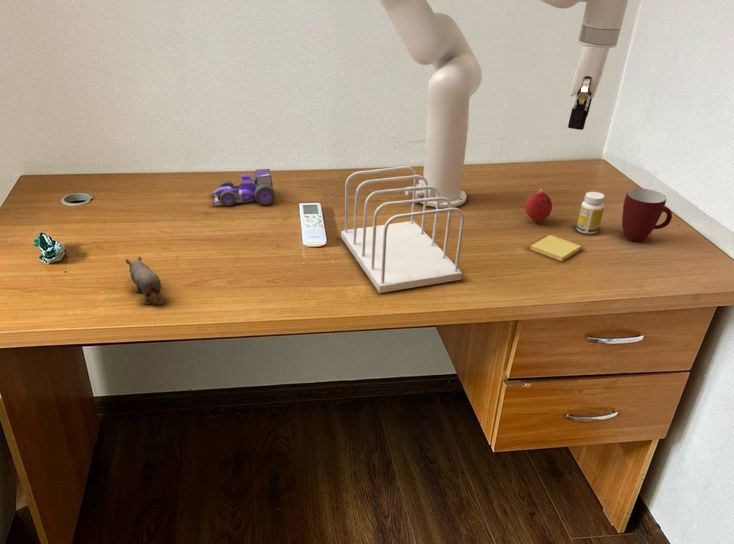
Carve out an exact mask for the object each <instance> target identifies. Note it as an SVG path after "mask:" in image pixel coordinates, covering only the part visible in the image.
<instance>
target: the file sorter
mask: <svg viewBox="0 0 734 544" xmlns="http://www.w3.org/2000/svg"><path fill="white" fill-rule="evenodd" d="M405 170H407V171H410V172H412V174H413V175H404V176H394V177H385V178H384V177H383V178H375V179H367V180H364V181H362V182H360V184H358V186H357V188H356V190H355V194H354V195H355V197H354V217H353V228H352V229H349V184H350V181H351V180H352V179H353V178H354V177H357V176H360V175H361V176H362V175H370V174H378V173H379V174H380V173H387V172H394V171H405ZM405 180H413V186H412V187H411V186H409V187H410V188H406V187H401V188H400V187H399V188H390V189H389V188H388V189H381V190H380V189H379V190H375V191H373V192H371V193H370V194H368V196H367V197H366V199H365V202H364V207H363V208H364V209H363V224H362V225H363V226H362V227H358V213H359V212H358V210H359V209H358V207H359V195H360V191H361V189H362V188H363V187H365V185H366V186H367V185H368V184H376V183H385V182H394V181H405ZM418 180H424V182H425V186H421V187H416V185H417V181H418ZM344 184H345V186H344V193H345V194H344V230H341V231H340V238H341V240H342V241H343V243H344V244H345V245H346V247H347V248H348V250H349V251H350V253H351V254H352V256H353V257H354V258H355V260H356V262H357V263H358V264H359V265H360V267H361V268H362V270H363V271H364V274H366V276H367V277H368V279H369V280H370V282H371V283H372V284H373V285H374V288H375V289H376V291H377V292H378V293H379V294H383V293H389V292H395V291H400V290H405V289H413V288H419V287H424V286H430V285H435V284H442V283H449V282H454V281H455V282H456V281H460V280H462V276H463V275H462V274H463V272H462V271H461V269H459V264H460V258H461V257H460V256H461V249H462V241H463V233H464V225H465V214H464V212H463V211H462V210H461V209H459V208H458V207H452V204H451V202H450V201H449V200H448V199H447V198H445V197H440V193H439V191H438V190H437V189H436V188H435V187H433V186H428V182H427V180H426V178H424V177H423V175H420V174H417V172H416V170H415V169H414V168H413V167H411V166H408V165H407V166H405V165H403V166H396V167H395V166H394V167H387V168H386V167H385V168H378V169H368V170H361V171H354V172H353V173H351V174H350V175H348V177H347V178H346V181H345V183H344ZM428 189H432V190H434V191H435V192H436V193H437V197H434V198H427V195H428ZM416 190H425V196H424V199H416V198H415V196H416ZM404 191H413V194H412V198H411V199H405V200H404V199H403V200H396V201H387V202H383V203H381V204H380V205H379V206H377V208H376V209H375V211H374V214H373V220H372V221H373V223H372V226H367V223H368V221H367V220H368V207H369V202H370V201H371V199H372V198H373V197H375V196H377V195H384V194H391V193H392V194H394V193H402V192H404ZM404 193H405V192H404ZM440 200H443V201H446V202H447V203H448V205H449V208H439V205H440ZM429 201H437V203H436V207H435V209H430V210H427V202H429ZM420 202H424V204H423V206H422V210H421V211H415V206H416V204H417V203H418V204H419V203H420ZM409 204H411V212H407V213H400V214H399V213H398V214H395V215H392V216H391V217H390V218H388V219H387V221H386V222H385V223H384V224H379V225H377V218H378V215H379V212H380V211H381V210H382V209H384V208H386V207H389V206H399V205H409ZM453 212H456V213H459V215H460V216H459V217H460V223H459V231H458V232H459V233H458V240H457V247H456V254H455V255H456V256H455V263H454V261H452V260H451V258H449V257H448V256H447V250H448V244H449V243H448V242H449V235H450V228H451V221H452V214H453ZM440 213H447V219H446V220H447V221H446V227H445V228H446V229H445V236H444V242H443V250H442V248H440V246H438V244H437V243H436V236H437V235H436V234H437V227H438V219H439V214H440ZM433 214H434V219H433V220H434V222H433V227H432V236H431V237H430V236H429V235H428V234H427V233H426V232H425V225H426V224H425V223H426V215H433ZM417 216H421V225H419V224H418V223H417V222H416V221H415V217H417ZM403 218H410V221H402V222H401V221H400V222H394V223H392V222H393V221H395V220H398V219H403Z"/></svg>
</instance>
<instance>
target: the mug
mask: <svg viewBox="0 0 734 544" xmlns="http://www.w3.org/2000/svg"><path fill="white" fill-rule="evenodd" d="M666 203H667V196H666V195H665V194H664V193H662V192H660V191H658V190H654V189H650V188H632V189H628V191H627V192H626V194H625V196H624V201H623V206H622V217H621V228H622V232H623V236H624V238H625V239H626V240H628V241H630V242H634V243H639V242H640V243H641V242H643V241H645V239H647V238H648V237H649V236H650V235H651V234H652V232H653V231H654V230H660V229H664V228H665V227H667V226H668V225H669V224H670V223H671V221H672V219H673V213H672V210H671V209H670V208H669V207H667V206H666ZM663 213H665V215H666V218H665V220H663V222H662V223H660V224H657V223H658V222H659V220H660V218H661V216H662V214H663Z"/></svg>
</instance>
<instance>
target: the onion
mask: <svg viewBox="0 0 734 544" xmlns="http://www.w3.org/2000/svg"><path fill="white" fill-rule="evenodd" d="M552 210H553V202H552V200H551V198H550V196H548V194H547V193H545V192H544V190H543V189H542V188H539V189H538V192H536V193H534V194H533V195H532V196H530V197H529V198H528V200H526V203H525V213H526V215H527V216H528V218H529V219H530V220H531V221H532V222H533V223H536V224H537V223H540V222H542V221H544V220H546V219H548V218H549V217H550V216H551V213H552Z"/></svg>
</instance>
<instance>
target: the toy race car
mask: <svg viewBox="0 0 734 544" xmlns="http://www.w3.org/2000/svg"><path fill="white" fill-rule="evenodd" d="M240 176H241V183H240V184H238V185H235V184H234V183H233V182H232V181H230V180H223V181H222V182H220V184H219V187H218V188H217V189H216V190H213V191H212V196H213V197H214V201H213V202H212V205H213V207H221V206H222V205H223V206H225V207H232V206H233V205H236V204H247V203H253V202H257V203H258V204H259V205H261V206H269V205H271V204H272V203H274V201H275V199H276V192H275V189H274V187H273V184H274V183H273V180H272V179H273V177H272V175H271V169H270V168H261V169H255V171H254V177H251V176H250V175H249V174H241V175H240ZM219 198H220V199H219Z"/></svg>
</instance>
